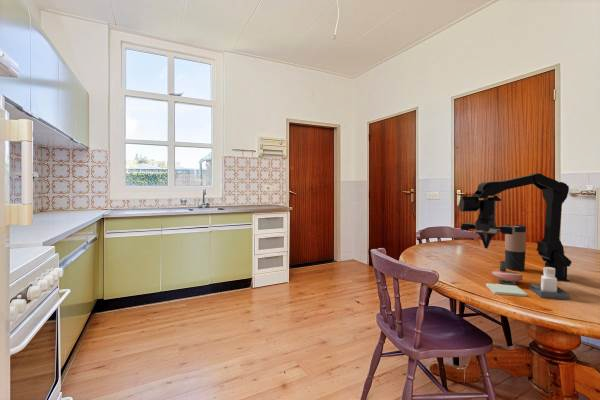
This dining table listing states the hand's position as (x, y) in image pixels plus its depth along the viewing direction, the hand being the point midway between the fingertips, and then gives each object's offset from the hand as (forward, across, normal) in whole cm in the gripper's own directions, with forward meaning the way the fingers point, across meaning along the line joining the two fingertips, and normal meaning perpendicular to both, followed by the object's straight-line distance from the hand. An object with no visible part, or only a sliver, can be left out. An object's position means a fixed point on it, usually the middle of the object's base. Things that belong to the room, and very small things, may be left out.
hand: (486, 248), depth 123 cm
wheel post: (+12, +8, -4) cm, 15 cm away
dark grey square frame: (+12, +21, -8) cm, 26 cm away
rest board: (+12, +10, -15) cm, 21 cm away
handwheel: (+10, +8, -4) cm, 13 cm away
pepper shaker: (+12, +21, -8) cm, 26 cm away
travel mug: (+12, +6, +21) cm, 25 cm away
